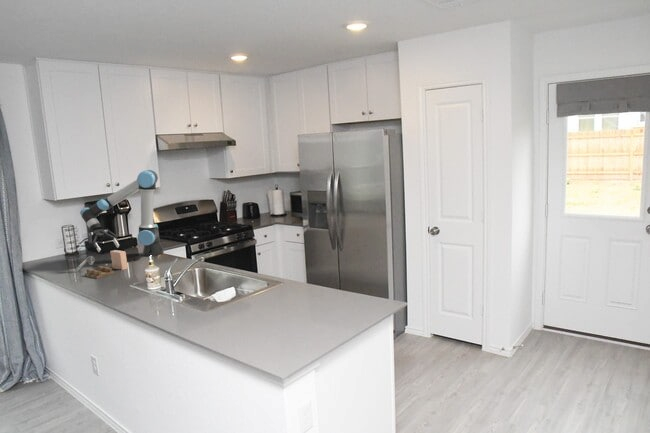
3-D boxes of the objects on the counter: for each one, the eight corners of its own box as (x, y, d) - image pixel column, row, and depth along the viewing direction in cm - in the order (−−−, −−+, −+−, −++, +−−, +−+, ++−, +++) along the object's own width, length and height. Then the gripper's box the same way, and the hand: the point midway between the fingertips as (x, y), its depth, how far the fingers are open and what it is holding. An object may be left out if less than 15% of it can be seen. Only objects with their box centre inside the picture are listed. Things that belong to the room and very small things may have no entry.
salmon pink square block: (112, 268, 319) (110, 251, 317) (118, 266, 322) (115, 250, 320) (122, 269, 312) (119, 252, 310) (127, 268, 315) (125, 251, 313)
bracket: (95, 260, 336) (90, 250, 330) (81, 281, 319) (75, 270, 313) (91, 261, 336) (85, 250, 330) (77, 281, 319) (71, 271, 313)
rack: (85, 275, 303) (84, 270, 302) (102, 271, 313) (101, 265, 312) (97, 278, 294) (96, 272, 294) (114, 273, 304) (113, 267, 303)
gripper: (110, 226, 338) (124, 247, 331) (75, 233, 318) (90, 256, 311) (112, 219, 334) (127, 241, 327) (78, 226, 314) (93, 249, 307)
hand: (109, 248), depth 319 cm, fingers open, 13 cm apart
